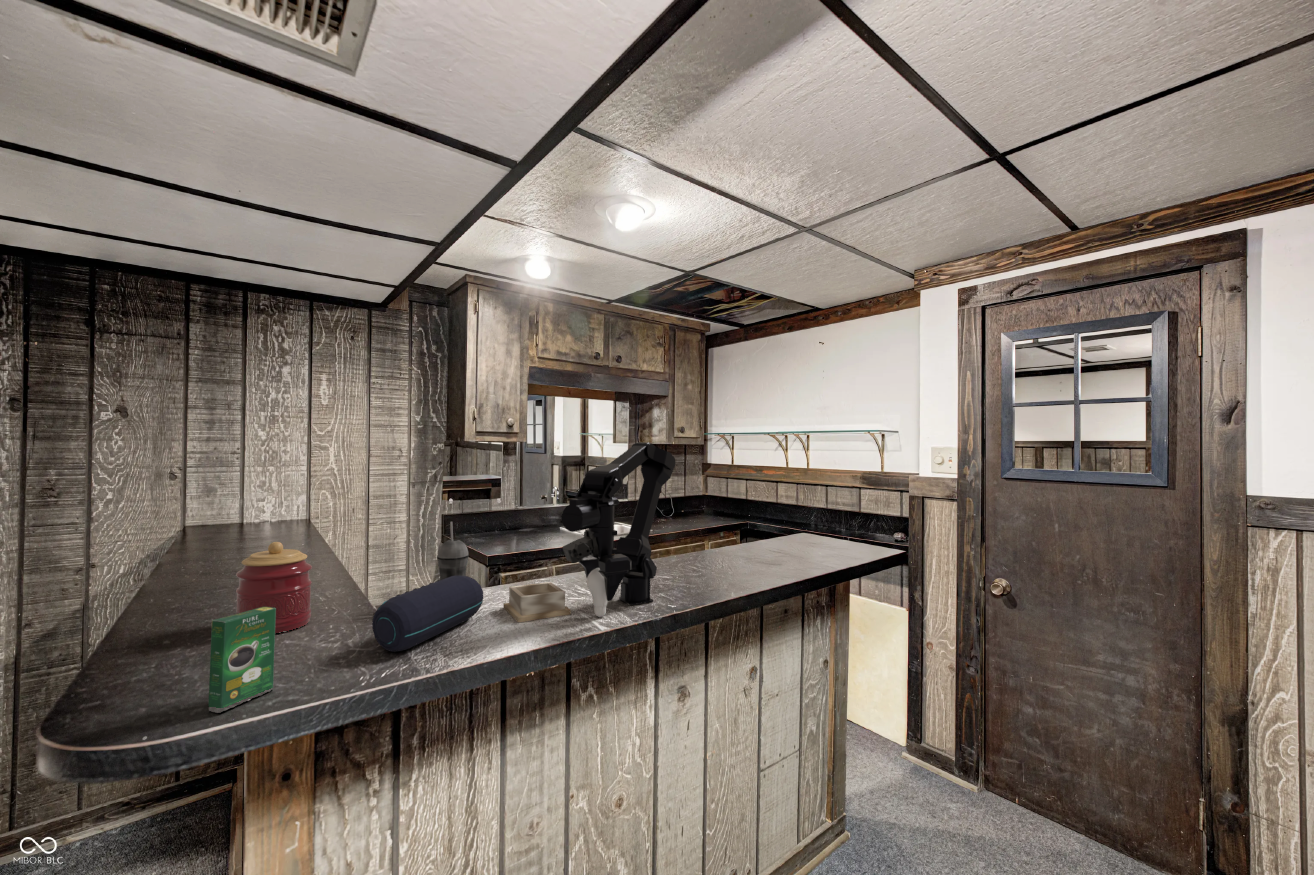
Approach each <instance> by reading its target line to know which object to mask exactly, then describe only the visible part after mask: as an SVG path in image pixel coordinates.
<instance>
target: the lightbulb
mask: <svg viewBox="0 0 1314 875" xmlns="http://www.w3.org/2000/svg"><path fill="white" fill-rule="evenodd" d="M599 571H600V568H596V569H594V570H592V571H591V572H590V573H589V575H588V577H587V578H586V587H587V588H588V590H589V593H590V595H591V597H592V604H593V610H594V613H593V614H594V615H595V616H597V618H603V616H605V615H606V614H607V613H606V612H607V605H608V601H607V598H606V590H605V581H604V577H603V576H602V575H601V574H600V573H599Z"/></svg>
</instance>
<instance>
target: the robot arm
mask: <svg viewBox="0 0 1314 875" xmlns="http://www.w3.org/2000/svg"><path fill="white" fill-rule="evenodd" d="M676 462H677V461H676V458H675V457H674V455H673V454H672V453H671V452H670V451H667V450H665V449H662V448H660V447H658V446H655V445H654V444H653V443H651V442H634V443H632V445H631V446H630V447H629V448H628V449H626V450H625V451H623V453H622V454H620V455H619V456H617V457H616V458H615V459H614V460H613V461H611V462H610V463H608V464H604V465H600V466H599V465H598V466H596V467H593V468H591V469H589V470H588V471H587V472H586V473H585V475H584V477H583V480H582V481H581V484H580V486H579V488H578V491H577V492H576V495H575V498H570V499H569V503H568V505H566V507H565V508H564V509H563V511H562V514H561V522H562V525H563V526H564V528H565V529H566V530H567V531H568V532H570V533H571V532H572V533H574V532H580V531H583V537H581V538H577V539H575V540H574V541H573V540H572V541H571V542H568V543H567V544H564V545H563V546H562V550H563V553H564V556H565V560H566V561H567V562H570V563H571V564H576V563H578V564H580V565H581V566H582V568H583V570H584V574H585V578H586V579H587V577H588V575H589V573H590V572H591V571H592V570H594V569H596V568H600V571H599V573H600V574H601V575H602V576H603V577H604V581H605V590H606V598H607V602H610V601H613V599H614V597H615V595H616V593H617V591H618V589H619V587H620V596H619V597H618V599H619V600H620V601H622V602H624V603H626V604H627V605H629V606H637V605H641V604H647V603H653V602H654V598H651V580H652V579H655V577H656V575H657V570H658V567H657V565H656V564H655V562H654V561H653V559H652V557H651V555H652V548H651V545H650V541H649V537H650V532H651V531H652V530H651V528H652V525H653V521H654V519H655V518H654V517H655V514H656V511H657V506H658V502H659V499H660V496H661V491H662V488H663V486H664V485H665V484H666V483H667V482H668V481H669V480H670V479H671V477H672V475H673V472H674V469H675V468H676ZM638 467H640V472H641V475H642V476H641V477H642V478H643V482H642V486H641V488H640V489H641V490H640V493H639V497H638V501H637V505H636V507H635V511H634V514H633V518H632V521H631V526H630V529H629V531H628V533H627V535H626V536H625V537H624V536H620V537H619V538H618V541H617V545H616V548H615V547H614V546H615V544H614V543H615V536H618V530H616V529H615V505H619V504H620V501H619V499H618V498H617V497H616V496H615V495H617V493H618V492H619V490H621V488H622V487H623V483H624V479H625V478H626V477H627V476H629V475H630V474H631V473H632V472H634V471H635V470H636V469H637V468H638Z"/></svg>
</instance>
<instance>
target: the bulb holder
mask: <svg viewBox="0 0 1314 875" xmlns="http://www.w3.org/2000/svg"><path fill="white" fill-rule="evenodd" d="M503 610H505V611H506V612H507V613H508V614H509V615H510V616H511V617H512V618H513V619H514V620H515V621H516V622H517V623H524V622H531V621H537V620H542V619H548V618H555V617H561V616H569V615H571V612H572V610H571V609H570V608H569V606H566V591H565V590H563V588H561V587H559V586H557V585H556V584H554V583H553V582H551V581H547V582H546V581H545V582H536V583H531V584H530V583H529V584H520V585H515V586H509V587H508V602H506V603H503Z"/></svg>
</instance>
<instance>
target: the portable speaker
mask: <svg viewBox="0 0 1314 875" xmlns="http://www.w3.org/2000/svg"><path fill="white" fill-rule="evenodd" d="M483 600H484V590H483V588H482V585H481V584H480V583H479V582H478V581H477V580H476V579H475V578H472V577H471V576H468V575H466V576H451V577H448V578H445V579H443V580H440V579H439V580H436V581H435V582H430V583H428V584H426V585H422V586H420V587H418V588H416V587H415V588H413V589H412V590H409V591H405V592H403V593H399V594H396V595H395V596H392V597H390V598H388V599H387V600H384V601H383V602H382V604H380V605H379V607H378V608H377V609H376V611H375V613H374V615H373V618H372V622H371V623H372V624H371V626H372V632H373V635H374V637H375V640H376V641H377V643H378V645H379V646H381V647H382V648H383V649H384V650H386V651H387V652H388V651H389V652H393V653H394V652H402V651H403V652H404V651H405V650H408V649H410V648H413V647H415V646H417V645H419V644H421V643H423V642H425V641H428V640H429V639H431V638H433V637H435V636H438V635H439V634H441V633H444V632H445V631H448V630H449V629H451V628H454V627H456V626H458V625H461V624H462V623H464V622H466V621H468V620H469V619H471V618H473V616H474V615H475V614H477V612H478V611H479V610H480V608H481V607H482V605H483Z"/></svg>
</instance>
